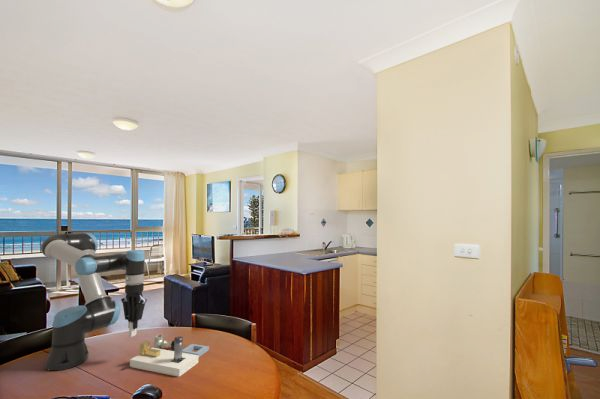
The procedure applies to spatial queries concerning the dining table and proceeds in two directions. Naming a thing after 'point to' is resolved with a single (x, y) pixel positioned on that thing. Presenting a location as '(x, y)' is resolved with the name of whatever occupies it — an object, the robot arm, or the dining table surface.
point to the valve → (162, 342)
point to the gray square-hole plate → (200, 348)
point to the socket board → (164, 362)
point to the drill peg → (178, 349)
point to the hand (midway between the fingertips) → (132, 335)
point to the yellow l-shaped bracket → (148, 349)
